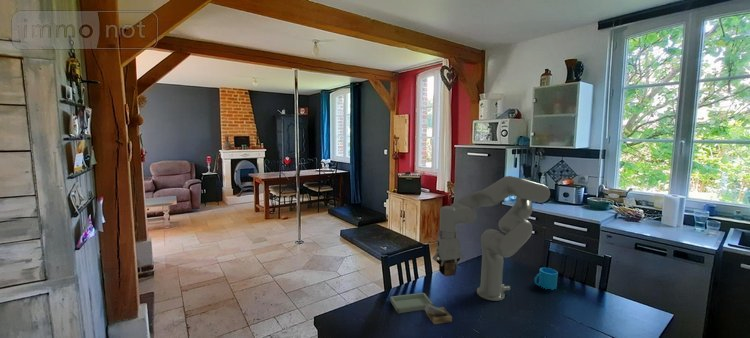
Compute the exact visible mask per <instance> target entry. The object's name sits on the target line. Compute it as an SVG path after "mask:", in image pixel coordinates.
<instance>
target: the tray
mask: <svg viewBox="0 0 750 338" xmlns="http://www.w3.org/2000/svg"><path fill="white" fill-rule="evenodd" d="M389 297H390V298H389V301H390V303H391V304H392V306H393V309H394V311H396V313H397V314H404V313H411V312H419V311H425V309H424V308H425V306H426V304H430V305H432V306H435V305H434V303H433V302H432V300H431V299H430V298H429V296H427V294H426V293H425V292H418V293H411V294H410V293H409V294H402V295H401V294H400V295H395V296H394V295H393V296H392V295H391V296H389Z"/></svg>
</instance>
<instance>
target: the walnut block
mask: <svg viewBox="0 0 750 338" xmlns="http://www.w3.org/2000/svg"><path fill="white" fill-rule="evenodd" d="M443 266H444V274H442V275H443V276H444V277H451V276H456V273H455V267H456V268H457V264H456V262H454V261H453V260H445V261H444V264H443Z"/></svg>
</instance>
